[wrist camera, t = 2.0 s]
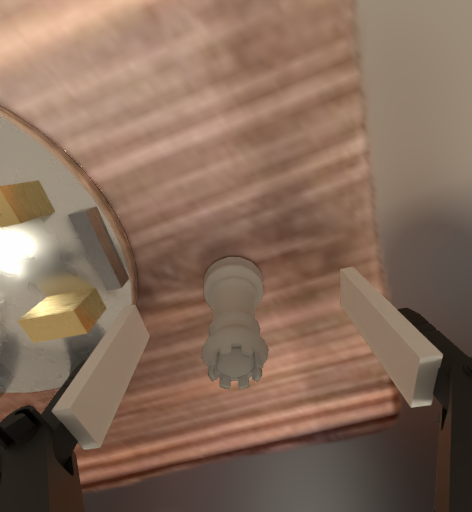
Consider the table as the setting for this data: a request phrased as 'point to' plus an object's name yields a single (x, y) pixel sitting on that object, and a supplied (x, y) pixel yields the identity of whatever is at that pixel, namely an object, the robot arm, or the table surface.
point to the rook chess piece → (234, 322)
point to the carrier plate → (54, 261)
